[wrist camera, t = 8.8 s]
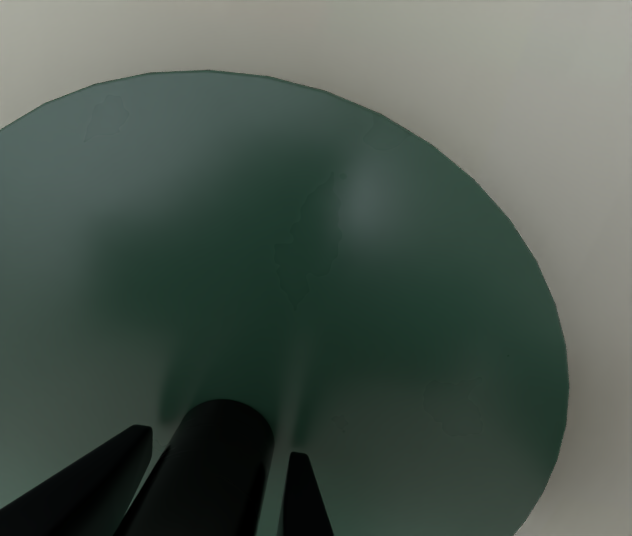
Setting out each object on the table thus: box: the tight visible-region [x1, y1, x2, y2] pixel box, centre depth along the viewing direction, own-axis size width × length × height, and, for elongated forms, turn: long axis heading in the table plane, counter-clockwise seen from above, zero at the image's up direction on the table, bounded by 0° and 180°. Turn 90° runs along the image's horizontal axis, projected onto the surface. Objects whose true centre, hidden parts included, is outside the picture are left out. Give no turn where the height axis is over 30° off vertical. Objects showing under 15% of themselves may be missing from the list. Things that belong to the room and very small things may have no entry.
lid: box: [0, 70, 569, 536], centre depth 6 cm, size 16×16×6 cm
